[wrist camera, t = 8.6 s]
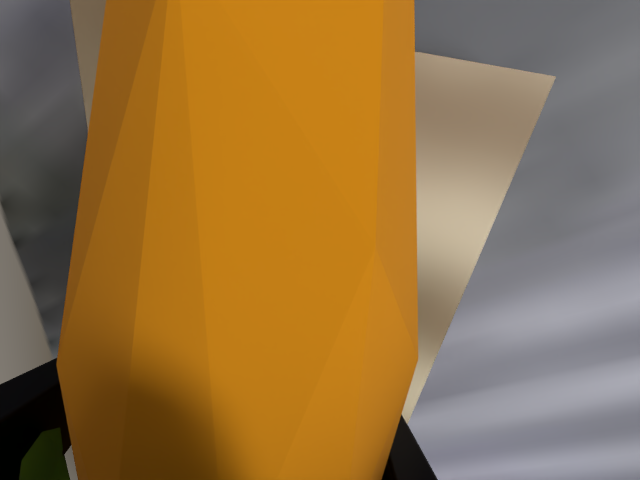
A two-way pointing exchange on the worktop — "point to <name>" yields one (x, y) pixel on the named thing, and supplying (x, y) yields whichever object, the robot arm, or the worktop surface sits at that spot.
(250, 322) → the corn
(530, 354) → the worktop surface
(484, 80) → the birch base
